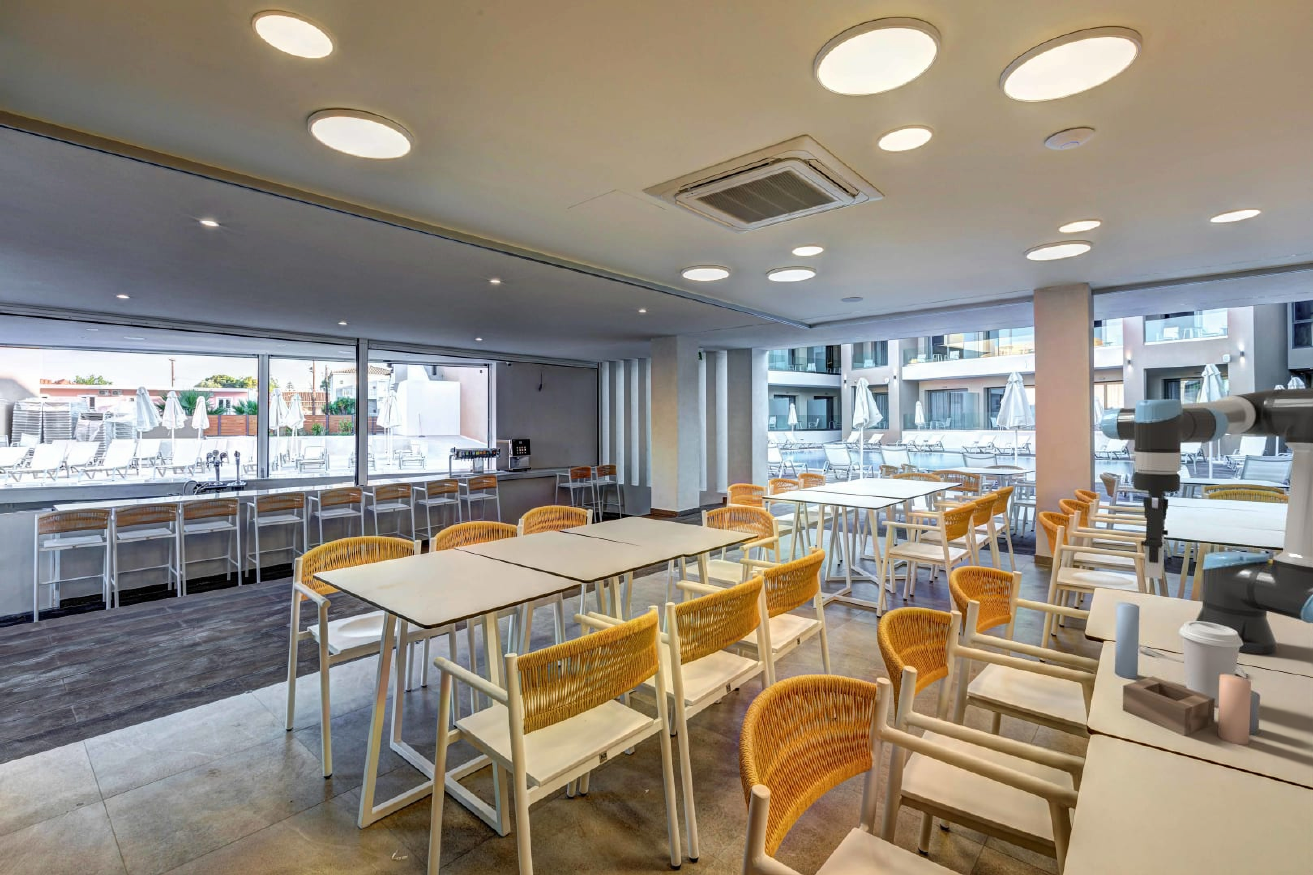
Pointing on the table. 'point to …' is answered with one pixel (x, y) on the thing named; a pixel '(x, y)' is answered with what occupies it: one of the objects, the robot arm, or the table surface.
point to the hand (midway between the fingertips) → (1154, 570)
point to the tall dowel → (1127, 640)
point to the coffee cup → (1208, 655)
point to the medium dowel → (1234, 709)
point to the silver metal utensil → (1158, 655)
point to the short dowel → (1254, 713)
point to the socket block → (1169, 705)
